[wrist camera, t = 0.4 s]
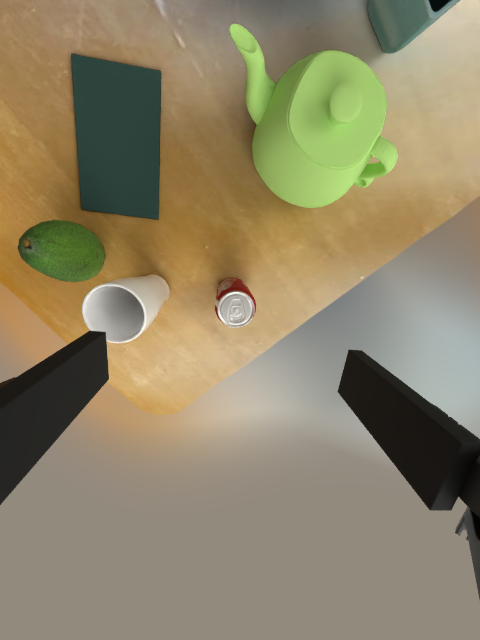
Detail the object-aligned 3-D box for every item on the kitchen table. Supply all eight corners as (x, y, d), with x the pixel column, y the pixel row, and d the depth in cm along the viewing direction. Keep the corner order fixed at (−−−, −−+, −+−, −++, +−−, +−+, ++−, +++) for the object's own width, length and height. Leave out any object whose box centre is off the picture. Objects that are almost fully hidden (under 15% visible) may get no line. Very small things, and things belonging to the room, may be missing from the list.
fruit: (62, 272, 37) (-9, 283, 26) (60, 219, 35) (-19, 205, 24) (114, 281, 38) (68, 295, 27) (116, 230, 36) (66, 221, 25)
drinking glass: (124, 288, 39) (66, 312, 24) (153, 260, 38) (110, 268, 23) (155, 317, 40) (117, 356, 26) (183, 291, 40) (160, 316, 25)
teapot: (206, 162, 34) (196, 112, 22) (253, 44, 31) (273, -95, 18) (330, 234, 38) (382, 227, 26) (384, 137, 35) (474, 76, 22)
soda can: (218, 308, 41) (216, 331, 29) (216, 277, 39) (213, 289, 28) (248, 306, 41) (257, 329, 30) (247, 276, 39) (257, 287, 28)
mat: (72, 55, 30) (70, 53, 30) (161, 72, 31) (160, 70, 31) (82, 209, 35) (81, 209, 35) (158, 219, 36) (157, 219, 36)
